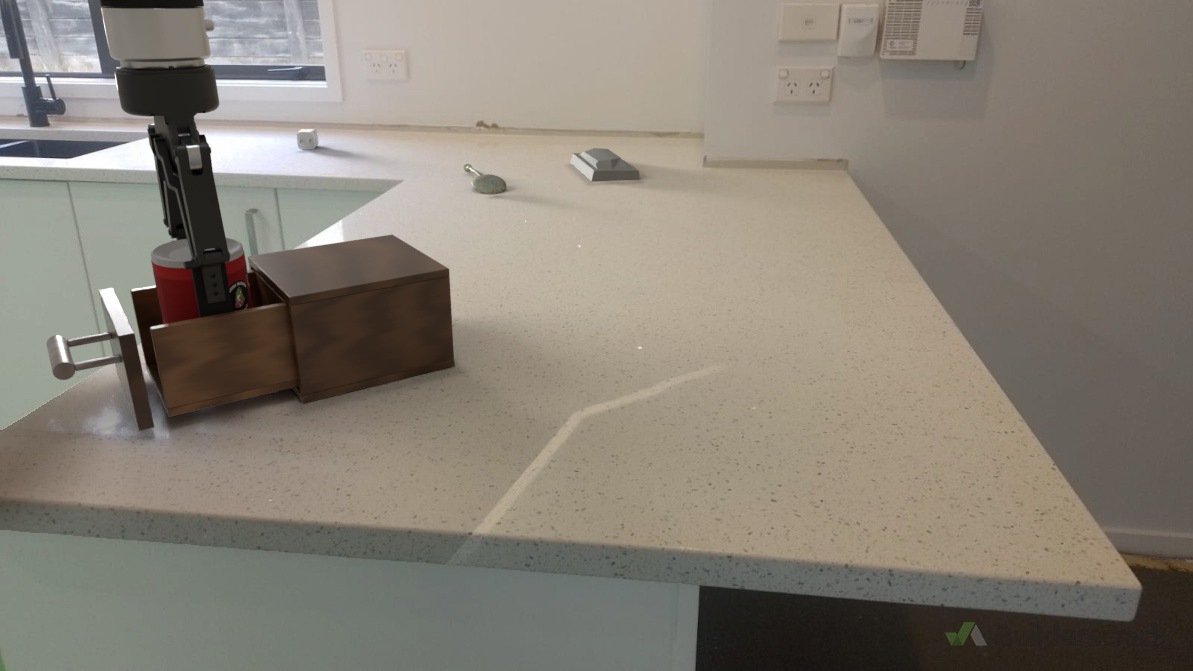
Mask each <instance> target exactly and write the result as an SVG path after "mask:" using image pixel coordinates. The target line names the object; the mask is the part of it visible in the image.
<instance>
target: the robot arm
mask: <svg viewBox="0 0 1193 671" xmlns="http://www.w3.org/2000/svg"><path fill="white" fill-rule="evenodd" d="M99 2H100V11H101V17H102V21H103V27H104V31H105V36H106V42H107V47H108V52H109V56H110V57H111V58H112V59H113V60H115V61H118V62H119V65H120V66H117V67H116V68H115V69H116V70H115V71H113V73H114V77H115V82H116V83H115V84H116V88H117V93H118V97H119V98H118V99H119V102H120V108H121V109H122V111H123V112H124V113H126V114H129V115H132V116H137V117H153V123H152V124H151V123H150V124H148V125H147V128H146V129H147V130H146V131H147V136H148V144H149V147H150V149H151V151H152V154H153V158H154V160H153V161H154V166H155V171H156V178H157V184H158V190H159V196H160V201H161V203H160V204H161V208H162V214H163V219H162V222H163V225H164V226H165V228H167V229H168V230H167V234H168V236H170V238H171V239H172V240H171V241H170V242H172V241H173V239H175V240H174V241H176V240H181V239H187V241H188V245H189V249H190V253H191V257H192V258H191V261H185V262H184V263H183V265H184V268H185V269H191V274H192V279H193V285H194V291H195V296H196V302H197V307H198V313H199V318H201V317H207V316H212V315H218V314H223V313H228V312H233V308H232V301H231V295H230V289H229V283H228V277H227V271H226V265H225V263H226V262H229V260H230V253H229V251H228V247H227V242H226V238H227V237H226V233H225V227H224V222H223V217H222V212H221V207H220V203H219V201H220V200H219V196H218V192H217V186H216V181H215V176H214V172H213V170H214V169H213V162H212V155H211V154H212V148H211V146H210V144H209V143H208V142H207V137H206V135H205V134H200V131H199V130H198V127H197V123H196V122H195V116H196V115H198V114H207V113H211V112H214V111H217V109H218V108H219V106H220V98H219V92H218V84H217V79H216V72H215V68H213V67H212V65H210V64H207V63H206V62H205V61H206V60H207V59H209V58H210V57H211V55H212V51H211V45H210V38H209V35H208V33H209V32H213V31H214V30H215V22H213V20H212V19H209V18H208V19H205V17H206V13H205V9H204V7H205V3H204V0H99ZM212 248H215V249H212ZM206 249H212V250H206ZM204 250H206V251H204Z"/></svg>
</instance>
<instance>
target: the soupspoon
mask: <svg viewBox="0 0 1193 671" xmlns="http://www.w3.org/2000/svg"><path fill="white" fill-rule="evenodd" d="M463 170H464V172H466V173H469V172H471V171H472V172H473V173H474V174H476V175H477V176H476V177H474V178H472V179H471V181H470V182H471V186H472V187H473V188H474V189H475V190H477V191H478V192H480V193H483V194H488V195H497V194H501V193H504V192H505V191H506V190H507V182H506V181H505V179H503V178H502V177H501V176H498V175H495V174H484V173H482V172H480V171H479V170H477V169H475V168H474V167H473V166H472V165H471V163H465V164H464V165H463Z"/></svg>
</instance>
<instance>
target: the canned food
mask: <svg viewBox="0 0 1193 671" xmlns="http://www.w3.org/2000/svg"><path fill="white" fill-rule="evenodd" d="M175 240H176V239H175ZM175 240H171V241H172V242H171V241H169V242H165V243H162V244H160V245H158V246H156V247H154V248H153V249H152V250H151V251H150V260H151V267H152V271H153V273H152V274H153V278H154V283H155V285H156V288H157V293H158V298H159V303H160V308H161V313H162V318H163V323H164V324H168V323H174V322H179V321H185V320H190V319H196V318H199V313H198V307H197V302H196V296H195V291H194V285H193V279H192V274H191V269H185V268H184V265H183V263H184V262H185V261H191V258H192V257H191V253H190V249H189V245H188V241H187V239H181V240H176V241H175ZM226 242H227V247H228V251H229V253H230V260H229V262H226V263H225V265H226V271H227V277H228V283H229V289H230V295H231V301H232V308H233V312H234V311H239V310H245V309H250V308H253V306H252V299H251V292H250V285H249V279H248V272H247V271H248V265H247V260H246V255H245V250H244V246H243V243H242V242H240V241H238V240H236V239H233V238H229V237H226ZM212 249H215V248H212ZM212 249H206V250H212ZM206 250H204V251H206Z"/></svg>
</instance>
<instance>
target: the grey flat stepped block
mask: <svg viewBox="0 0 1193 671" xmlns="http://www.w3.org/2000/svg"><path fill="white" fill-rule="evenodd" d="M569 163H570V164H571V165H572V166H573V167H574V168H576V169H577V170H578V171H579V172H580V173H581V174H583V176H585V178H587V179H588V180H589V181H590V182H608V181H609V182H610V181H635V180H636V181H637V180H640V170H639V169H637V168H636V167H634V166H633V165H631V164H630V163H628V162H627V161H626V160H625V159H623V158H622V157H621V156H619V155H618V154H616V153H614V152H613V151H612V150H610V149H609V148H599V147H593V148H591V149H588V150H585V151H582V152H572V155H571V158H570V161H569Z"/></svg>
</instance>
